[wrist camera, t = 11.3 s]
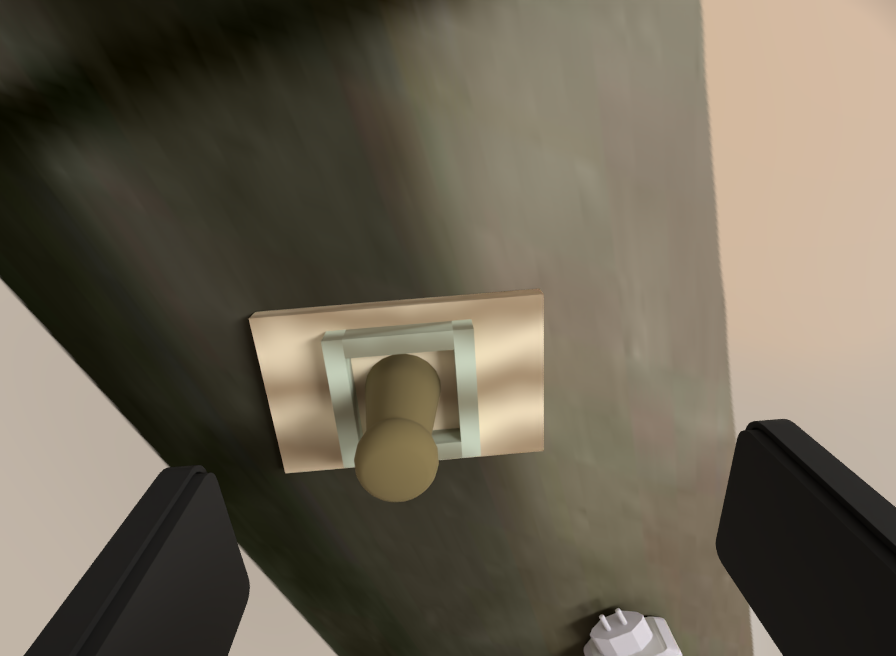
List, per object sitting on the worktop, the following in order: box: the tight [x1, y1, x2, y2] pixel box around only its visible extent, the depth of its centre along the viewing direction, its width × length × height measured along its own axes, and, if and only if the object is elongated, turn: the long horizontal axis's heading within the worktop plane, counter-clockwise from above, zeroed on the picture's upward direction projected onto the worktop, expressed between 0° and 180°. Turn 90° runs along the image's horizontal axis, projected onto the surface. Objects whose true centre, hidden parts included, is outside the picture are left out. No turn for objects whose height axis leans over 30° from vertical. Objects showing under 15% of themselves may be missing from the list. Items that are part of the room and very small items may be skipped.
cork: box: [354, 354, 441, 502], centre depth 34 cm, size 6×6×11 cm
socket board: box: [249, 289, 544, 473], centre depth 39 cm, size 14×22×4 cm, turn 94°
